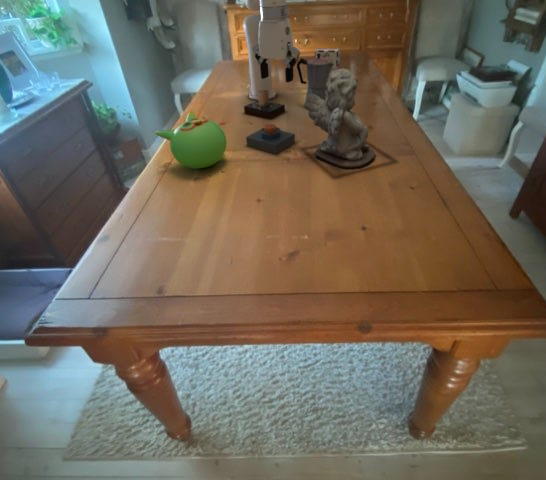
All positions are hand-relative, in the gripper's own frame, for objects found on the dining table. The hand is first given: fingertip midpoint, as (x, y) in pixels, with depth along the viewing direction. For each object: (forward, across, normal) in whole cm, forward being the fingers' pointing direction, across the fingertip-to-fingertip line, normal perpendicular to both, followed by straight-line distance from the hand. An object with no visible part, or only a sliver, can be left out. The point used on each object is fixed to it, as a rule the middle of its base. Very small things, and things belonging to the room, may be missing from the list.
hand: (277, 79), depth 111 cm
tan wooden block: (+17, +23, -21) cm, 35 cm away
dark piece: (+20, +1, +4) cm, 20 cm away
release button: (+15, +1, +4) cm, 16 cm away
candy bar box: (+20, +17, -62) cm, 68 cm away
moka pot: (+20, +8, -37) cm, 43 cm away
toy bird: (+20, +12, +28) cm, 36 cm away
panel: (+20, +23, -21) cm, 37 cm away
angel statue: (+20, -26, -2) cm, 33 cm away
